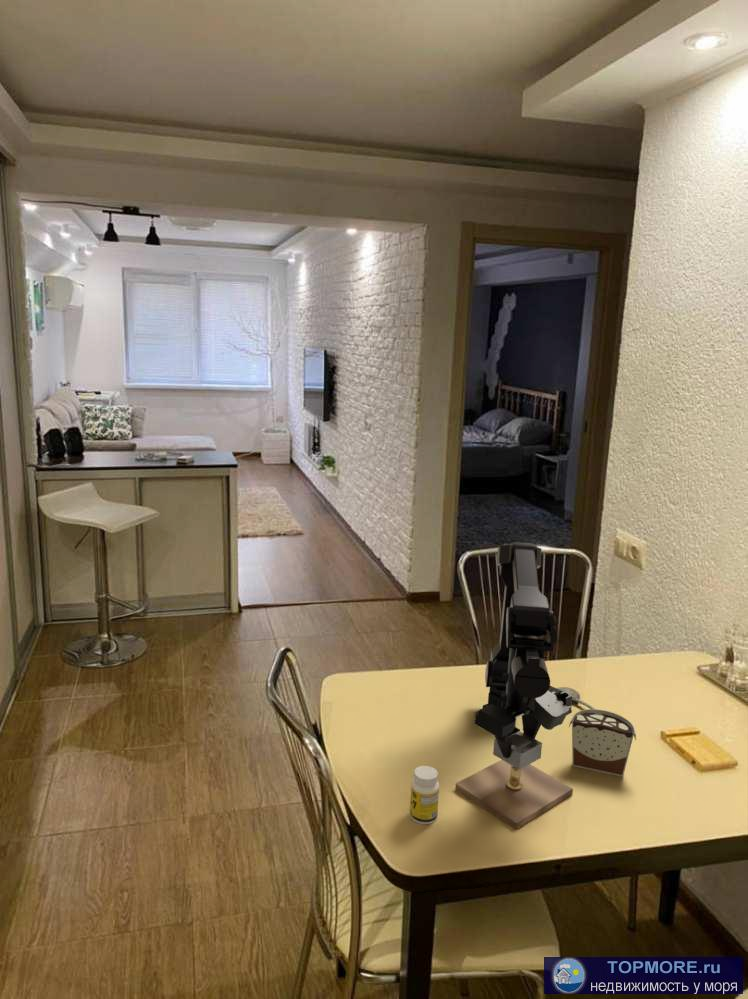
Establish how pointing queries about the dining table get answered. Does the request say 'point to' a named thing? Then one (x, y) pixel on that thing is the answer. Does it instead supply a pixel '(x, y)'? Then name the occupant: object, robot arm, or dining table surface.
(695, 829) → the dining table surface
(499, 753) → the grey square ring
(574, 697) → the soupspoon
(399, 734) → the dining table surface
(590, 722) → the slice of cake
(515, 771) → the keeper peg
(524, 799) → the keeper board
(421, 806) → the supplement bottle
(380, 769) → the dining table surface
